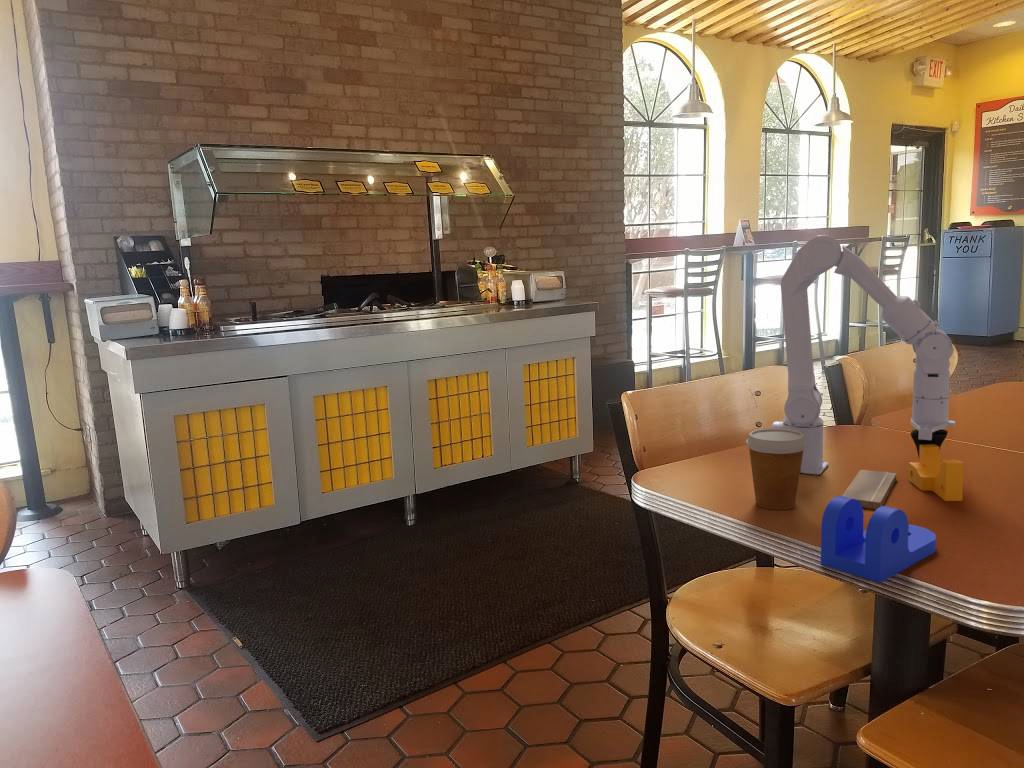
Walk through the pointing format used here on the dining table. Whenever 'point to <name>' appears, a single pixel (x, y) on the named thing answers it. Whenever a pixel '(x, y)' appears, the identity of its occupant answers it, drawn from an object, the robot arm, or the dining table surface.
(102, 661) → the dining table surface
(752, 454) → the disposable coffee cup
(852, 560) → the bracket
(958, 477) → the pipe clamp
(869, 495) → the board
